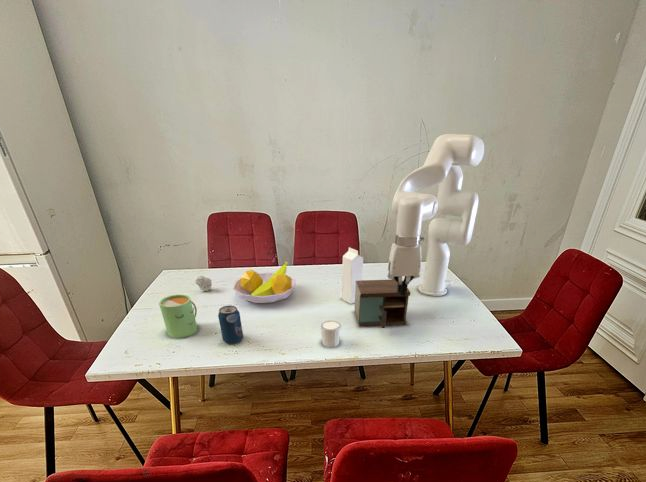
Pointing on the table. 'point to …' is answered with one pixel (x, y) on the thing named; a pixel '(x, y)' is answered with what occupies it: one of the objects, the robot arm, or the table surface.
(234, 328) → the soda can
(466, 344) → the table surface
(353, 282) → the milk
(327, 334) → the shot glass
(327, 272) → the table surface
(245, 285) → the fruit bowl
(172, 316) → the mug
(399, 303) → the cabinet
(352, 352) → the table surface
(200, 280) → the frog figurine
